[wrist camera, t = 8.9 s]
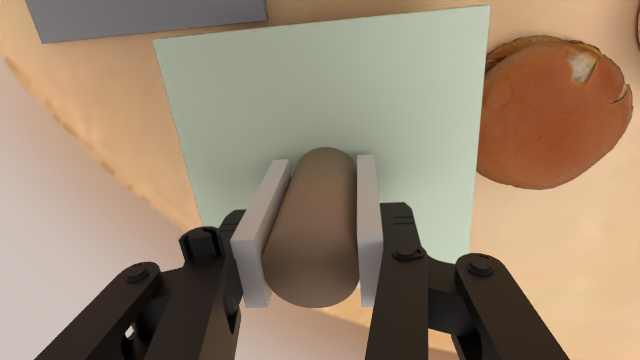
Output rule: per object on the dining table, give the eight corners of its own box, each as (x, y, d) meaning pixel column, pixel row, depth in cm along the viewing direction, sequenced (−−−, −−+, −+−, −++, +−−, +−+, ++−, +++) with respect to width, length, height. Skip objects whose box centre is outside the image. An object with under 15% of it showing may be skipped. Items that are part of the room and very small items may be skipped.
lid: (165, 37, 17) (20, 63, 10) (481, 4, 15) (593, 6, 8) (226, 277, 23) (164, 405, 16) (460, 273, 21) (514, 416, 14)
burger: (446, 174, 28) (462, 204, 24) (449, 44, 24) (469, 53, 20) (587, 165, 27) (630, 194, 23) (615, 26, 23) (673, 31, 19)
